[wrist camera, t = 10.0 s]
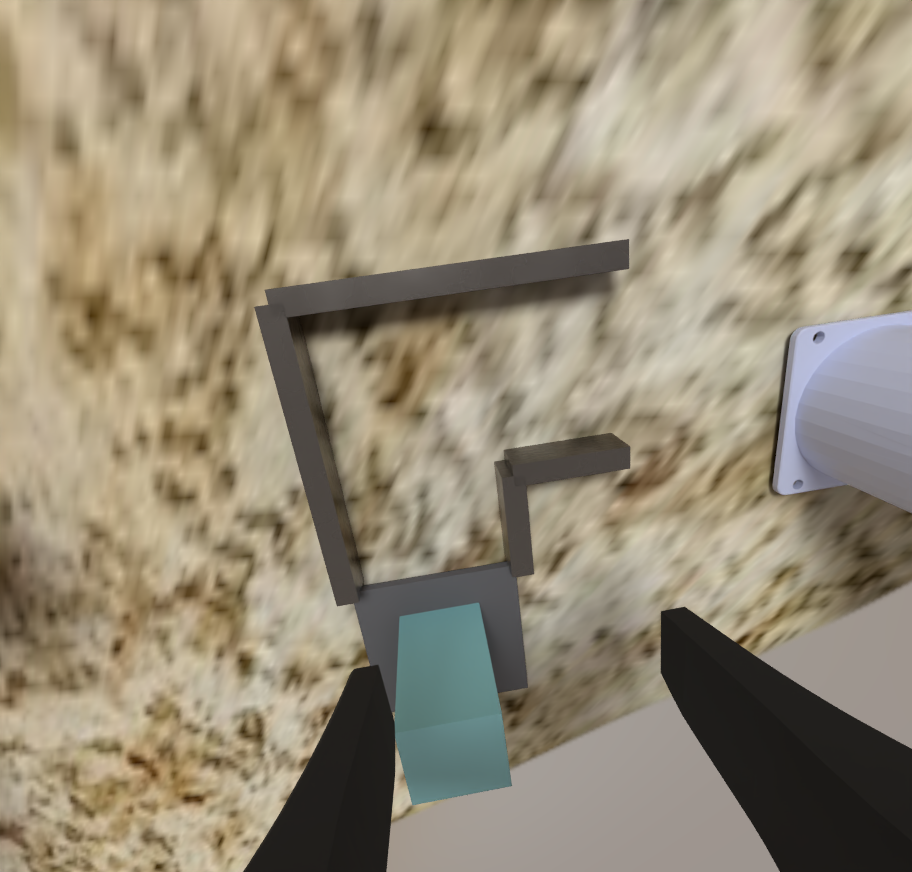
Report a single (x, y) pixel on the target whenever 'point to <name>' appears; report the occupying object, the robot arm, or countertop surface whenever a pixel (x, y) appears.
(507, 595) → the rubber pad
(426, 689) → the teal block
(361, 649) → the countertop surface
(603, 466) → the rail
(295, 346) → the outer rail
